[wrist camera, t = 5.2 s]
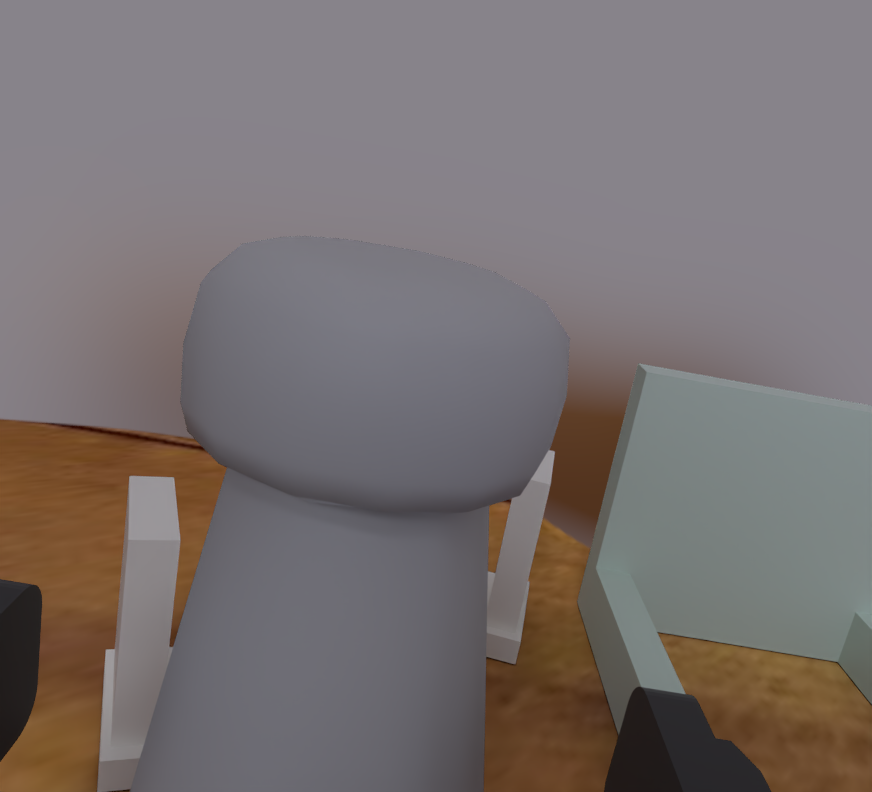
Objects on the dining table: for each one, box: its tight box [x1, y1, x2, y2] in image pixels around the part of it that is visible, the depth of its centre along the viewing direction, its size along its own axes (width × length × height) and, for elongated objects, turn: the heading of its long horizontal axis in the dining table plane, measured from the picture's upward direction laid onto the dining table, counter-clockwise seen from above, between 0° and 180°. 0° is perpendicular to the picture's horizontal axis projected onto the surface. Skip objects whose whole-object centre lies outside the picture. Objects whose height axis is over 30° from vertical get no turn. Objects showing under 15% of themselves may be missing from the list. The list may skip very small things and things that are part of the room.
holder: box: [577, 364, 872, 735], centre depth 24 cm, size 10×9×9 cm
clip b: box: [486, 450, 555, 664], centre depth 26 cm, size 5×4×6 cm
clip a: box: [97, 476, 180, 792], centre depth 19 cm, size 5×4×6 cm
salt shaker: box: [130, 236, 570, 792], centre depth 11 cm, size 6×6×13 cm
